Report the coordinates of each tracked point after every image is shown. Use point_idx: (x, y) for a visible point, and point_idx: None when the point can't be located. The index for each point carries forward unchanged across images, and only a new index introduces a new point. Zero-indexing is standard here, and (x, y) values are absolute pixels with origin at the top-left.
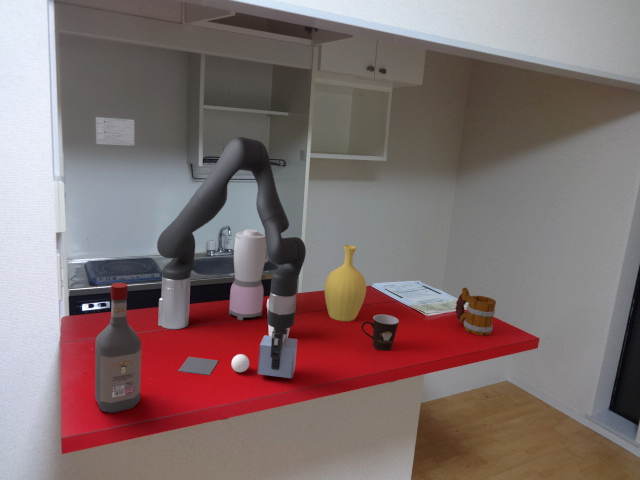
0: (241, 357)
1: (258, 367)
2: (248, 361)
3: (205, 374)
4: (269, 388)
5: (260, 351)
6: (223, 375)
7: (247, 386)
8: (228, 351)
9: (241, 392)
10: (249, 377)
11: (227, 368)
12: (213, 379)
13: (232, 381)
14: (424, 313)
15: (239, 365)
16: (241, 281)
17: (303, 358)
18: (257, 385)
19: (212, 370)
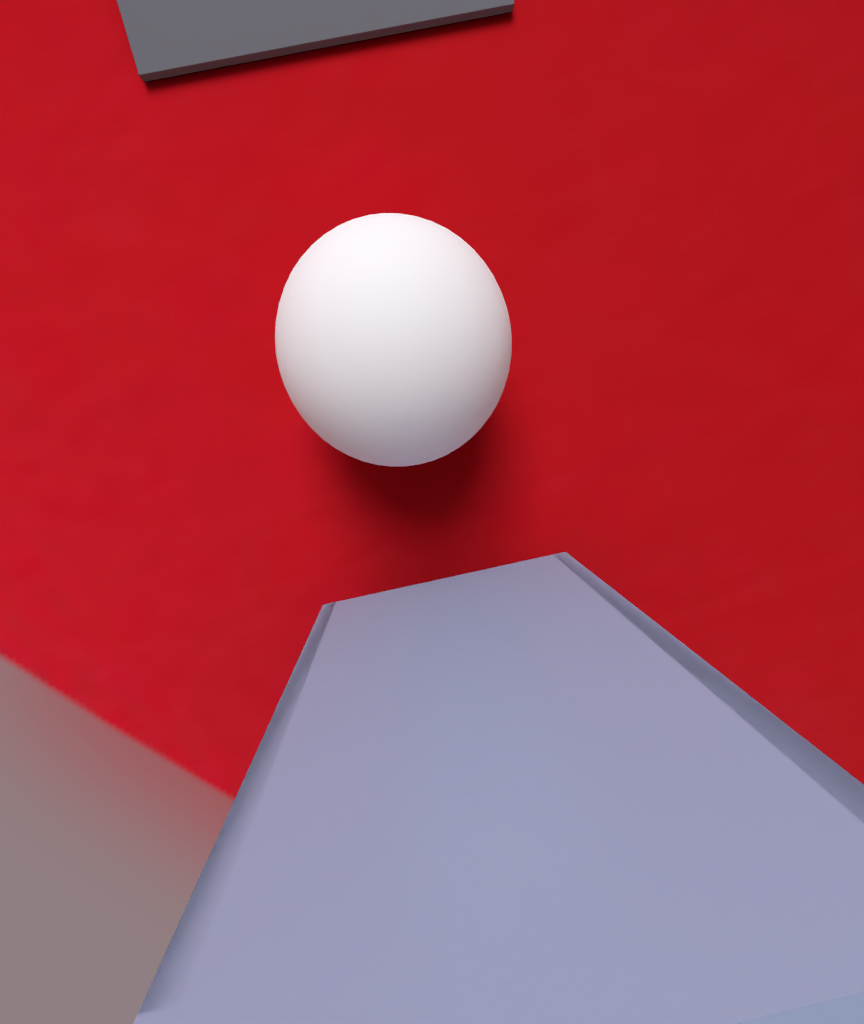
0: (346, 364)
1: (305, 646)
2: (416, 460)
3: (122, 17)
4: (243, 726)
5: (212, 889)
6: (233, 242)
7: (169, 558)
8: (795, 19)
9: (41, 555)
10: (331, 505)
11: (396, 211)
12: (92, 175)
13: (173, 390)
14: None
15: (285, 385)
16: None
17: (848, 766)
18: (235, 626)
19: (258, 57)
